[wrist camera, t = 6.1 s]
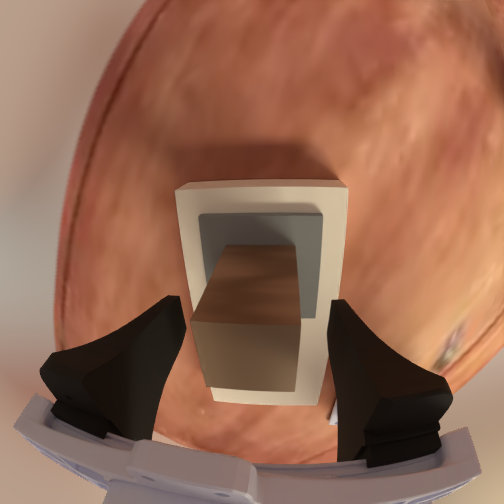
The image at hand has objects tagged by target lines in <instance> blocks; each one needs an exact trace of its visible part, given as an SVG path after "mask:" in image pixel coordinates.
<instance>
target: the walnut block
mask: <svg viewBox="0 0 504 504" xmlns="http://www.w3.org/2000/svg"><path fill="white" fill-rule="evenodd" d="M190 323H191V327H192V332H193V336H194V340H195V345H196V349H197V353H198V357H199V361H200V365H201V369H202V373H203V376H204V380H205V384H206V387H213V388H223V389H234V390H248V391H269V392H295V386H296V377H297V367H298V357H299V347H300V335H301V311H300V296H299V282H298V269H297V257H296V246H295V245H226V246H225V248H224V250H223V252H222V254H221V256H220V258H219V260H218V262H217V264H216V267H215V269H214V271H213V273H212V275H211V277H210V279H209V281H208V283H207V286H206V288H205V290H204V292H203V294H202V296H201V298H200V301H199V303H198V305H197V307H196V309H195V311H194V314H193V316H192V318H191V320H190Z"/></svg>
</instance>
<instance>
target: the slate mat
mask: <svg viewBox="0 0 504 504" xmlns="http://www.w3.org/2000/svg"><path fill="white" fill-rule="evenodd" d="M198 220H199V229H200V237H201V246H202V254H203V261H204V269H205V276H206V283H208V281H209V279H210V277H211V275H212V273H213V271H214V269H215V267H216V264H217V262H218V260H219V258H220V256H221V254H222V252H223V250H224V248H225V246H226V245H295V246H296V257H297V269H298V282H299V296H300V311H301V318H302V319H304V318H315V317H316V308H317V298H318V287H319V276H320V263H321V248H322V231H323V214H322V213H207V214H200V215H199V216H198Z"/></svg>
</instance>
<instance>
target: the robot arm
mask: <svg viewBox="0 0 504 504" xmlns="http://www.w3.org/2000/svg"><path fill="white" fill-rule="evenodd" d="M186 329H187V328H186V324H185V319H184V315H183V310H182V306H181V301H180V296H171V295H168V296H166V297H165V298H163V299H162V300H160V301H159V302H158V303H156V304H155V305H153V306H152V307H151V308H149V309H148V310H147V311H145V312H144V313H142V314H141V315H140V316H138V317H137V318H135V319H134V320H132V321H131V322H129V323H128V324H126V325H125V326H123V327H121V328H120V329H118V330H116V331H114V332H112V333H110V334H108V335H106V336H104V337H102V338H100V339H97V340H95V341H93V342H90V343H88V344H85V345H82V346H79V347H76V348H72V349H68V350H64V351H59V352H54V353H52V354H51V355H50V356H49V358H48V359H47V360H46V362H45V363H44V364H43V366H42V367H41V368H40V375H41V378H42V380H43V381H44V383H45V384H46V386H47V387H48V388H49V390H50V391H51V392H52V394H53V395H54V396H55V398H56V399H57V401H56V402H55V404H54V403H53V402H51V401H50V400H48V399H46V398H45V397H42V396H41V395H39V394H37V393H35V394H34V396H33V397H32V398H31V400H30V401H29V403H28V404H27V406H26V407H25V409H24V410H23V412H22V413H21V415H20V416H19V418H18V420H17V421H16V423H15V424H14V428H15V429H16V430H17V431H18V432H19V433H20V434H21V435H22V436H23V437H24V438H25V439H26V440H27V441H28V442H29V443H30V444H32V445H33V446H34V447H35V448H36V449H37V450H39V451H40V452H41V453H42V454H43V455H45V456H47V457H48V458H50V459H51V460H53V461H54V462H56V463H58V464H59V465H61V466H63V467H64V468H66V469H68V470H69V471H71V472H73V473H74V474H76V475H78V476H80V477H82V478H83V479H85V480H87V481H89V482H91V483H93V484H95V485H97V486H99V487H101V488H103V489H105V490H107V494H106V496H105V499H104V502H103V504H434V500H437V499H439V498H442V497H444V496H447V495H449V494H451V493H453V492H454V491H456V490H458V489H459V488H461V487H462V486H464V485H465V484H467V483H469V482H470V481H471V480H473V479H475V478H476V477H477V476H479V475H480V474H481V468H480V464H479V461H478V457H477V454H476V451H475V448H474V445H473V441H472V439H471V436H470V433H469V430H468V427H463V428H461V429H458V430H455V431H452V432H449V433H447V434H444V435H442V436H441V437H440V438H439V434H438V431H439V430H440V424H439V420H440V419H441V418H442V416H443V415H444V414H445V412H446V411H447V410H448V408H449V407H450V405H451V404H452V401H453V395H452V393H451V390H450V388H449V385H448V383H447V381H446V379H445V378H444V377H442V376H439V375H437V374H434V373H432V372H430V371H427V370H425V369H423V368H421V367H419V366H418V365H416V364H414V363H412V362H411V361H409V360H407V359H406V358H404V357H403V356H401V355H400V354H398V353H397V352H395V351H394V350H393V349H391V348H390V347H389V346H388V345H387V344H385V343H384V342H383V341H382V340H381V339H379V338H378V337H377V336H376V335H375V334H374V333H373V332H372V331H371V330H370V329H369V328H368V327H367V325H366V324H365V323H364V322H363V321H362V320H361V319H360V318H359V316H358V315H357V314H356V313H355V312H354V311H353V309H352V308H351V307H350V306H349V304H348V303H347V302H346V301H345V300H344V299H339V300H331V307H330V314H329V321H328V327H327V345H328V354H329V359H330V364H331V369H332V374H333V379H334V384H335V390H336V402H335V405H334V408H333V411H332V413H331V416H330V419H329V424H330V425H338V452H337V462H336V463H322V464H260V463H250V462H249V461H247V460H244V459H242V458H239V457H236V456H231V455H226V454H220V453H213V452H206V451H200V450H194V449H189V448H184V447H179V446H174V445H170V444H165V443H161V442H157V441H152V433H153V428H154V423H155V418H156V414H157V410H158V406H159V402H160V398H161V395H162V392H163V388H164V385H165V382H166V380H167V377H168V375H169V373H170V371H171V369H172V366H173V364H174V362H175V360H176V357H177V355H178V353H179V351H180V348H181V346H182V343H183V340H184V336H185V332H186Z"/></svg>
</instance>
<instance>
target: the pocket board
mask: <svg viewBox="0 0 504 504" xmlns="http://www.w3.org/2000/svg"><path fill="white" fill-rule="evenodd" d="M348 191H349V188H348V187H347V186H346V185H345V184H344V183H343V182H342V181H340V180H322V179H250V180H222V181H202V182H188V183H186V184H185V185H183V186H181V187H180V188H178V189H176V190H175V197H176V206H177V214H178V221H179V228H180V235H181V242H182V249H183V255H184V261H185V267H186V273H187V279H188V285H189V290H190V296H191V301H192V306H193V311H195V309H196V307H197V305H198V303H199V301H200V298H201V296H202V294H203V292H204V290H205V288H206V286H207V283H206V276H205V269H204V261H203V254H202V246H201V237H200V229H199V220H198V216H199V215H200V214H207V213H322V214H323V231H322V248H321V263H320V276H319V287H318V298H317V308H316V317H315V318H304V319H302V318H301V335H300V347H299V357H298V367H297V377H296V386H295V392H269V391H248V390H234V389H223V388H213V387H211V391H212V395H213V398H214V401H221V402H231V403H243V404H259V405H318V401H319V396H320V392H321V388H322V384H323V379H324V375H325V370H326V365H327V360H328V355H329V354H328V345H327V327H328V321H329V314H330V307H331V300H338V296H339V289H340V281H341V273H342V265H343V256H344V246H345V235H346V223H347V209H348Z"/></svg>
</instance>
